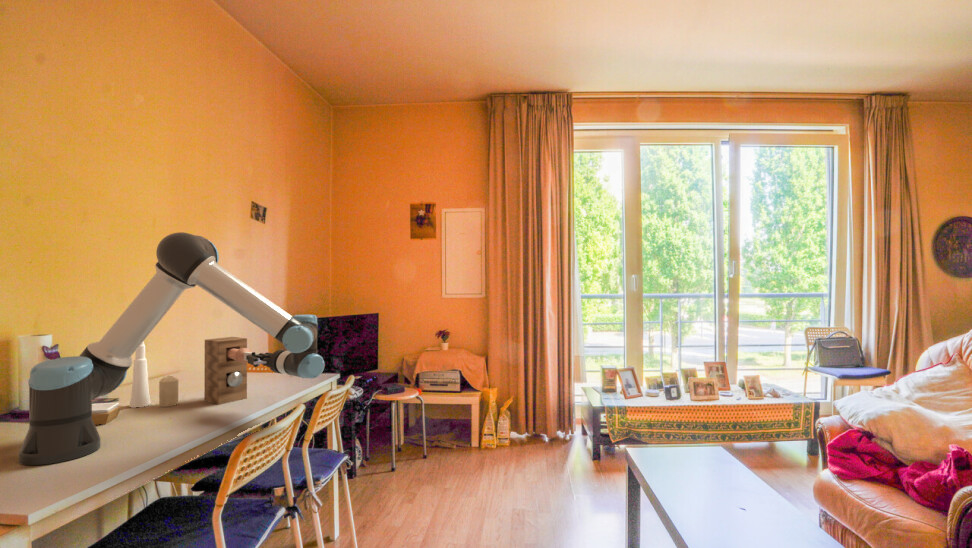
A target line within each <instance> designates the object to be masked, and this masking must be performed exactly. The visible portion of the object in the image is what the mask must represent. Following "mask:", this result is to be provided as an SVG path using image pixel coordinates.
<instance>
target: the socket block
mask: <svg viewBox="0 0 972 548" xmlns="http://www.w3.org/2000/svg"><path fill="white" fill-rule="evenodd" d="M226 348H234V349H241V348H248V338H246V337H237V336H228V337H227V336H225V337H217V338H208V339H207V338H206V339H204V396H203V397H204V400H205V401H204V402H208V401H209V403H212V402H213V404H215V403H216V404H217V405H222V403H223V404H228V403H231V401H232V402H236V401H240V400H246V399H248V362H247V363H240V362H238V361H237V360H234V359H228V358H226ZM232 372H239V373H241V374H242V376H243V381H242V383H241V384H240V385H239V386H237V387H232V386H229V385H228V384H227V383H226V373H232ZM227 402H228V403H227Z"/></svg>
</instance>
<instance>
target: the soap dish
mask: <svg viewBox="0 0 972 548" xmlns="http://www.w3.org/2000/svg"><path fill="white" fill-rule="evenodd" d="M122 407H123V405H120V403H119V402H104V403H103V402H100V403H99V402H97V403H92V420H93V422H94V424H95V426H100V425H99V424H104V425H107V424H108V423H110V422H112V421H113V420H114V419H116V418H117V417H118V415H119V413H120V411H121V410H122Z"/></svg>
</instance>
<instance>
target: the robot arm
mask: <svg viewBox="0 0 972 548" xmlns="http://www.w3.org/2000/svg"><path fill="white" fill-rule="evenodd" d="M156 259H157V262H156V263H155V265H154V266H155V267H154V268H155V271H156V272H155V274H154V275H153V277H151V279H150V280H149V281H148V282H147V283H146V285H145V286H144V287H143V289H141V291H140V292H139V293H138V294H137V295H136V297H134V299H133V301H131V303H130V304H129V305H128V307H126V309H125V310H124V311H123V312H122V314H121V315H120V316H119V317H118V318H117V320H115V322H114V323H113V324H112V325H111V327H110V328H109V329H108V331H107V332H106V333H105V334H104V335H103V336H102V337H101V339H100V340H99V341H96V342H91V343H88V345H87V346H86V347H85V348H84V350H83V351H81V353H80V354H79V355H76V356H63V357H57V358H55V359H47V360H45V361H42V362H39V363H37V364H35V365H34V366H33V367H31V369H30V372H29V378H28V381H27V382H28V390H29V391H28V398H29V399H28V401H29V403H28V404H29V405H28V411H29V412H28V413H29V414H28V415H29V416H28V417H29V418H28V419H29V420H28V423H29V425H28V430H27V432H26V435H25V438H24V439H23V441H22V445H21V446H20V450H19V451H18V463H19V464H20V465H25V466H42V465H51V464H57V463H62V462H67V461H70V460H74V459H75V460H76V459H78V458H81V457H85V456H87V455H90V454H92V453H94V452H97V451H98V450H99V449H100V448H101V446H102V445H101V442H102V441H101V436H100V433H99V431H98V429H97V427H96V425H95V424H94V422H93V420H92V404H93V400H95V399H98V398H100V397H103V396H106V395H108V394H111V393H112V392H114V391H115V390H116V389H117V388H119V387H120V386H121V385H122V383H123V382H124V381H125V379H126V376H127V375H128V374H127V373H128V370H129V369H130V368H131V367H132V365H133V364H134V361H133V359H132V356H133V355H134V354H135V353H136V350H137V348H138V347H139V346H140V345H141V343H142V342H145V339H147V337H149V335H150V334H151V332H153V330H154V329H155V327H156V326H157V325H158V324H159V323H160V322H161V321H162V319H163V318H164V316H166V314H167V313H168V311H169V310H170V309H171V308H172V307H173V305H174V304H175V303H176V301H178V299H180V297H181V295H183V293H184V292H185V291H186V290H187V289H194V288H195V287H196V286H198V287H199V288H201V289H202V290H204V291H205V292H206V293H208V294H209V295H211V296H212V297H213V298H215V299H217V300H218V301H220V302H221V303H223V304H224V305H225V306H227V307H229V308H230V309H232V310H233V311H235V312H236V313H238V314H239V315H240V316H242V317H243V318H245V319H246V320H248V321H249V322H251V323H252V324H253V325H256V327H259V329H260V330H262V331H264V332H265V333H267V334H269V335H270V336H271V337H273V338H274V339H276V341H278V342H280V343H281V344H282V345H283V347H284V348H285V349H277V350H276V351H274V352H265V353H263V352H260V353H258V352H255V351H253V352H252V351H251V352H244V360H247V361H248V362H247V364H249V365H251V366H253V368H258V367H260V365H262V366H263V367H267V368H269V369H270V370H271V371H272V372H274V374H275V373H276V374H281V375H287V376H289V377H290V378H292V377H298V378H301V379H316V378H318V377H319V376H321V374H322V373H323V371H324V370H325V365H326V364H325V360H324V358H323V356H321V355H320V354H318V327H319V324H318V317H317V315H315V314H295V315H291V314H290V313H289V312H287V311H286V310H285V309H282V308H281V307H280V306H279V305H277V304H276V303H274V302H273V301H272V300H270V299H268V298H267V297H266V296H264V295H263V294H261V293H260V292H259V291H257V290H256V289H255V288H253V287H252V286H250V285H249V284H247V283H246V282H244V281H242V279H240V278H238V277H237V276H236V275H234V274H233V273H231V272H230V271H229V270H227V269H226V268H224V267H223V266H221V265H220V264H219V260H220V254H219V251H218V248H217V247H216V245H215V243H212V241H211V240H209V238H208V239H207V238H206V237H204V236H201V235H195V234H192V233H188V232H174V233H173V232H172V233H170V234H168V235H166V236H165V237H163V238H162V239H161V240H160V241H159V243H158V244H157V247H156Z"/></svg>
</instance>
